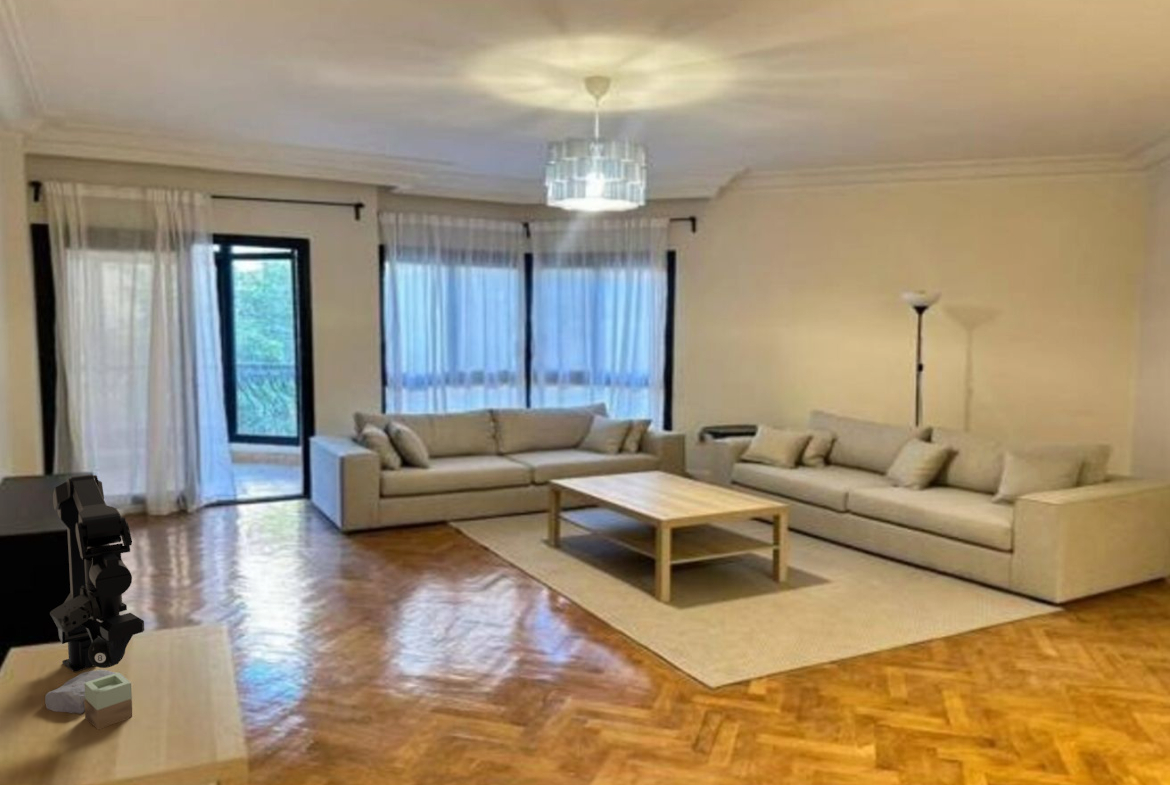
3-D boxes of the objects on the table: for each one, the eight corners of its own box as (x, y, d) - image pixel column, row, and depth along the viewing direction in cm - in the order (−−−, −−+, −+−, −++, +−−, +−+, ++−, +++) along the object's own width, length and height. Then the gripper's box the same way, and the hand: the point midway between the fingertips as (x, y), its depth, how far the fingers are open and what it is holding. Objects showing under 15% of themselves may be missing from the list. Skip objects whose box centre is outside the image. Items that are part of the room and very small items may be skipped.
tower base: (85, 719, 156) (84, 699, 156) (118, 706, 161) (117, 687, 160) (98, 730, 153) (97, 710, 152) (132, 717, 157) (131, 698, 157)
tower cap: (85, 698, 156) (84, 682, 156) (119, 687, 161) (118, 672, 160) (97, 710, 152) (96, 693, 152) (131, 698, 157) (131, 682, 156)
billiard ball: (131, 658, 159) (129, 628, 158) (118, 673, 153) (116, 642, 152) (97, 659, 158) (96, 629, 157) (83, 674, 152) (81, 643, 151)
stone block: (40, 718, 159) (84, 715, 157) (35, 694, 159) (79, 691, 157) (88, 691, 171) (130, 688, 169) (84, 669, 170) (125, 665, 168)
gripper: (34, 578, 152) (39, 658, 155) (76, 605, 141) (81, 691, 143) (99, 563, 161) (103, 639, 163) (143, 588, 150) (147, 669, 152)
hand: (107, 659), depth 155 cm, fingers closed on billiard ball, 6 cm apart
